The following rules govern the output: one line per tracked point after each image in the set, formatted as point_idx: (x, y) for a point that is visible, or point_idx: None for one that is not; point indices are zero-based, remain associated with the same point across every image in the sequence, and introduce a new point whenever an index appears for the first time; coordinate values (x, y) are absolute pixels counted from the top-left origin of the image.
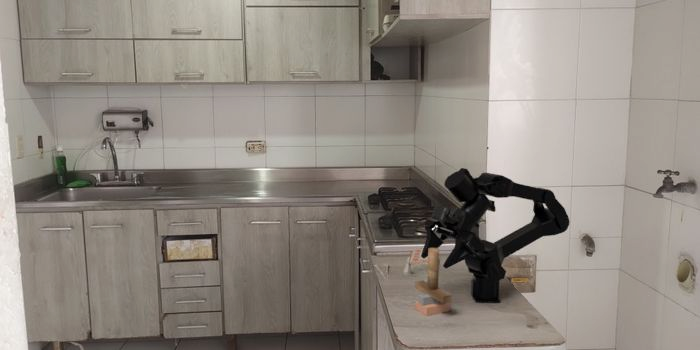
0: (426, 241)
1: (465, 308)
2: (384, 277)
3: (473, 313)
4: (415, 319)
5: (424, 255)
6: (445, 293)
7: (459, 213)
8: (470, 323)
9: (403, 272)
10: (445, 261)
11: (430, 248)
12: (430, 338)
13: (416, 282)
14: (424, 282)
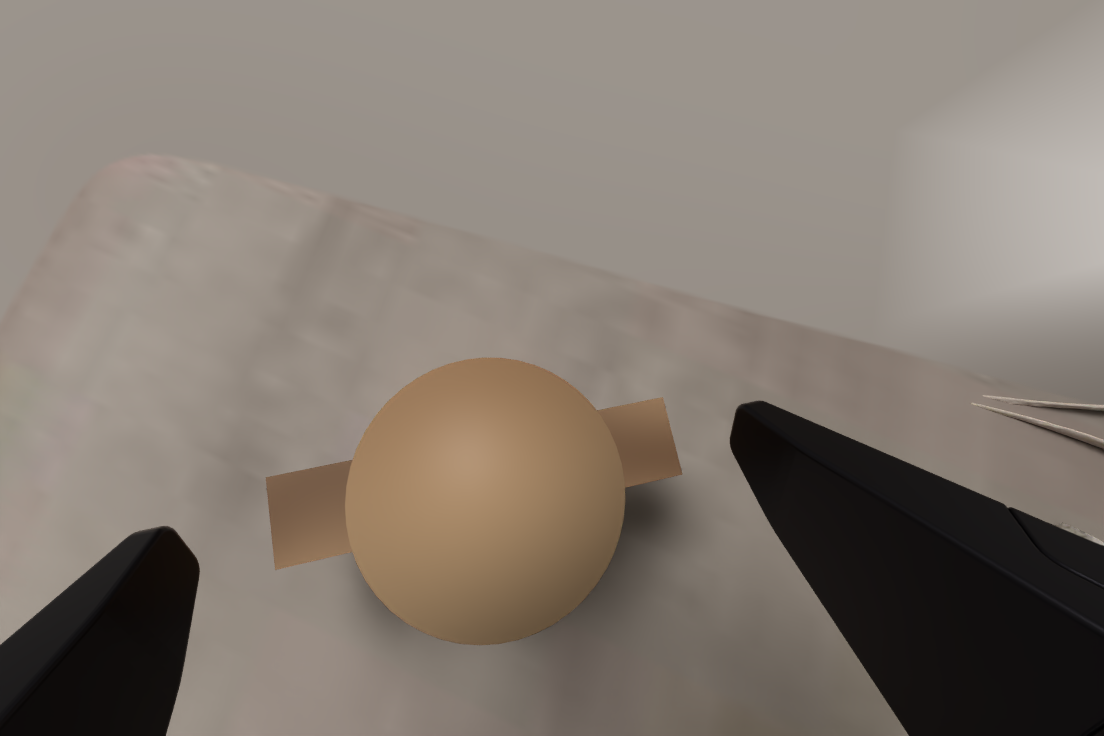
0: (1077, 551)
1: (444, 704)
2: (1020, 399)
3: (345, 723)
4: (384, 323)
5: (753, 449)
6: (329, 528)
7: None
8: (199, 623)
9: (1086, 534)
10: (97, 590)
11: (564, 436)
12: (107, 294)
13: (647, 403)
14: (633, 465)
